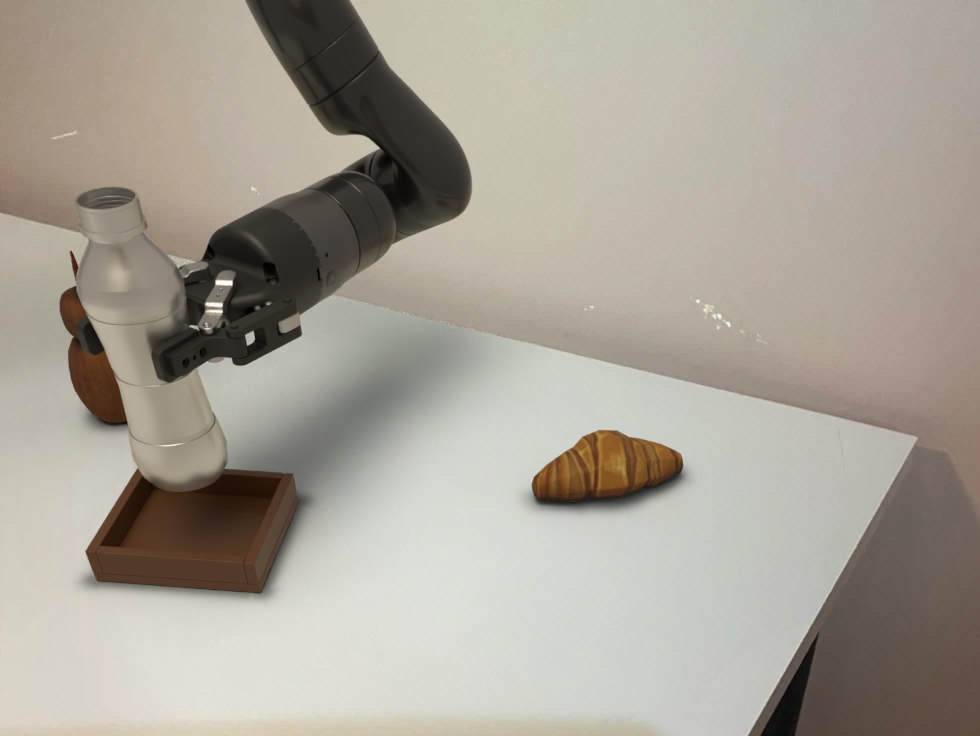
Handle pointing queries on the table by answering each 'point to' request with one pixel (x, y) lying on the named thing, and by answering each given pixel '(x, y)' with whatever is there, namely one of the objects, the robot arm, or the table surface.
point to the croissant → (606, 468)
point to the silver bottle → (145, 342)
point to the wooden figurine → (90, 364)
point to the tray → (196, 532)
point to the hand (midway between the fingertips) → (120, 354)
